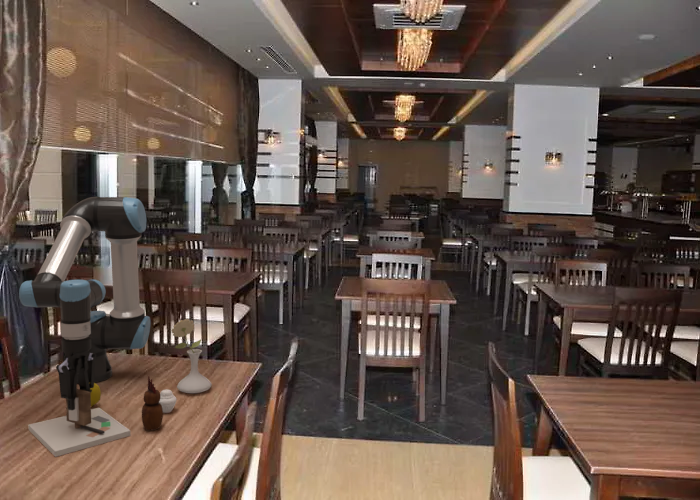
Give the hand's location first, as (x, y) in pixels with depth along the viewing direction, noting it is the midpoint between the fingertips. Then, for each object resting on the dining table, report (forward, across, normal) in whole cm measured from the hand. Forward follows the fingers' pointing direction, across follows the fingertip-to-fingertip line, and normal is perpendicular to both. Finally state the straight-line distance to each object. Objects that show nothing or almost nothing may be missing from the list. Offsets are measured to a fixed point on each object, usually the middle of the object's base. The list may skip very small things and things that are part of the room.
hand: (78, 417), depth 172 cm
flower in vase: (+5, +40, -12) cm, 42 cm away
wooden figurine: (+5, +10, -17) cm, 20 cm away
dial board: (+5, 0, 0) cm, 5 cm away
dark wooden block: (+3, -1, -3) cm, 4 cm away
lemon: (+5, +17, +10) cm, 20 cm away
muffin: (+5, +22, -14) cm, 26 cm away
